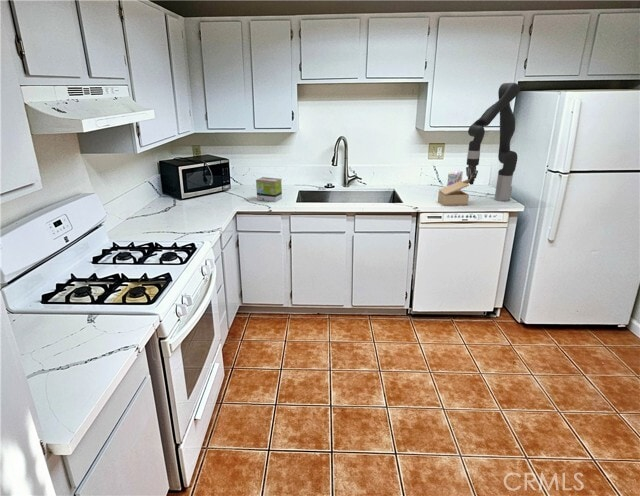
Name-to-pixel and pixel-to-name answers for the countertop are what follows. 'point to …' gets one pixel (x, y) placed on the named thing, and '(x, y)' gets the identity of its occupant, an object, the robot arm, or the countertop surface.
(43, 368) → the countertop surface
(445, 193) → the lid
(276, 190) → the tea box
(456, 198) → the base
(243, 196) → the countertop surface
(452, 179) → the candy box
